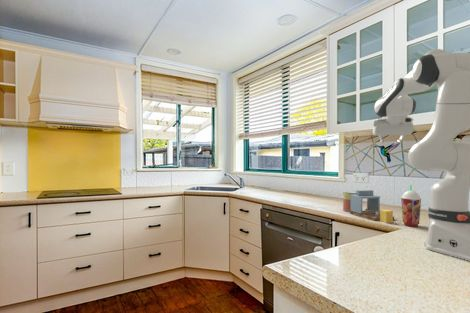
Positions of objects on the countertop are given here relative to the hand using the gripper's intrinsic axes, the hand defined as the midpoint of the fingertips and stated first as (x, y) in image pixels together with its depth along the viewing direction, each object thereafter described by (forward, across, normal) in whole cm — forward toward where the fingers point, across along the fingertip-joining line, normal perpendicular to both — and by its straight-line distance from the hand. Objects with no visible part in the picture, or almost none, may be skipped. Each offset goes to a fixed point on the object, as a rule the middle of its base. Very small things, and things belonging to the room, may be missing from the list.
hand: (390, 142), depth 152 cm
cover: (+39, -14, -11) cm, 43 cm away
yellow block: (+35, -9, -28) cm, 46 cm away
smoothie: (+33, -1, -34) cm, 47 cm away
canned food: (+45, -17, -1) cm, 48 cm away
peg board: (+39, -12, -16) cm, 44 cm away
